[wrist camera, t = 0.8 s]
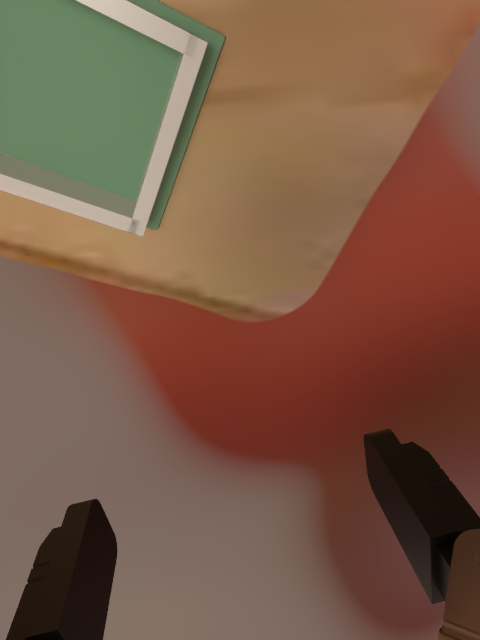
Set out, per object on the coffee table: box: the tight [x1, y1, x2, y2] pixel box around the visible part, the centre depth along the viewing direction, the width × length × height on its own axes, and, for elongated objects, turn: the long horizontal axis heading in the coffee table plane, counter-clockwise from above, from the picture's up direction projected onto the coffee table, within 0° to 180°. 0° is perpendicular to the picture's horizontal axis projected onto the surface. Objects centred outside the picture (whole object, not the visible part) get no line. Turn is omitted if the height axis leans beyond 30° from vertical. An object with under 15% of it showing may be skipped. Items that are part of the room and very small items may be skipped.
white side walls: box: [0, 0, 208, 237], centre depth 30 cm, size 12×14×4 cm
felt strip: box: [0, 0, 226, 230], centre depth 30 cm, size 26×16×1 cm, turn 66°
